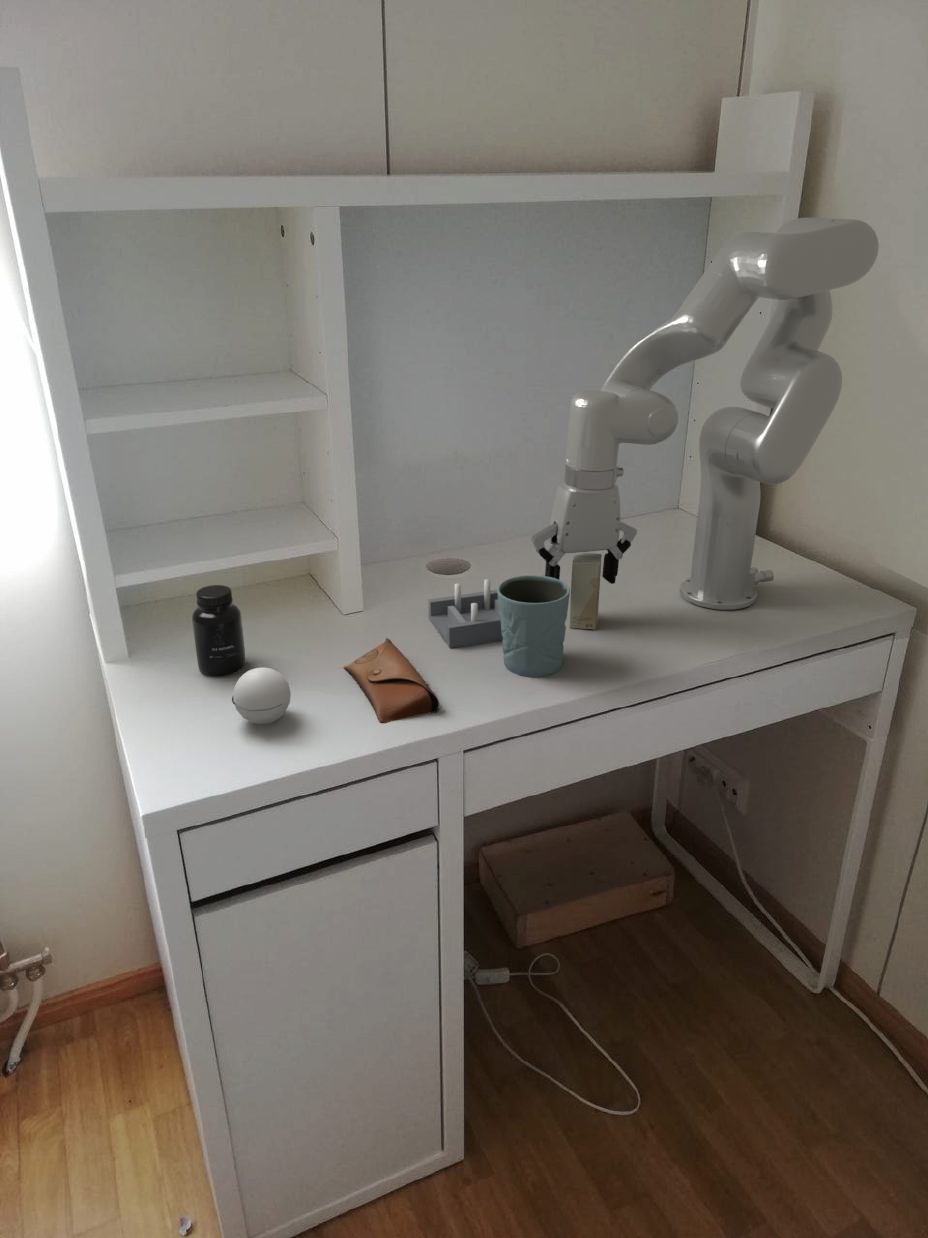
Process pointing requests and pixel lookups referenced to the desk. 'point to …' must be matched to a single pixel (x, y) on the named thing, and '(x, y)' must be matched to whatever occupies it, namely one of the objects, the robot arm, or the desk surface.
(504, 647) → the teal embossed cup
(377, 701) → the sunglasses case
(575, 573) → the box
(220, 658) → the supplement bottle
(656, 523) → the desk surface
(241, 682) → the white ball
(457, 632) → the tray
